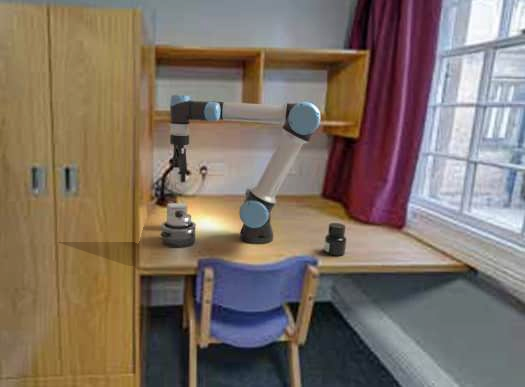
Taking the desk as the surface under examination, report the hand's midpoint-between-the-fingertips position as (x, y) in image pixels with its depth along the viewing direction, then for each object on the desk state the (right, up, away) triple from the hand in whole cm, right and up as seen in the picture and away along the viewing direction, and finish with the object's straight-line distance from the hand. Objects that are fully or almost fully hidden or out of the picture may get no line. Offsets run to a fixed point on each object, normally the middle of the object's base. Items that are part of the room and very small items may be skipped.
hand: (179, 186), depth 172 cm
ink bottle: (+65, -28, +4) cm, 71 cm away
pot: (-2, -24, +6) cm, 24 cm away
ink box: (-6, -20, +22) cm, 30 cm away
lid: (-1, -17, +4) cm, 17 cm away
